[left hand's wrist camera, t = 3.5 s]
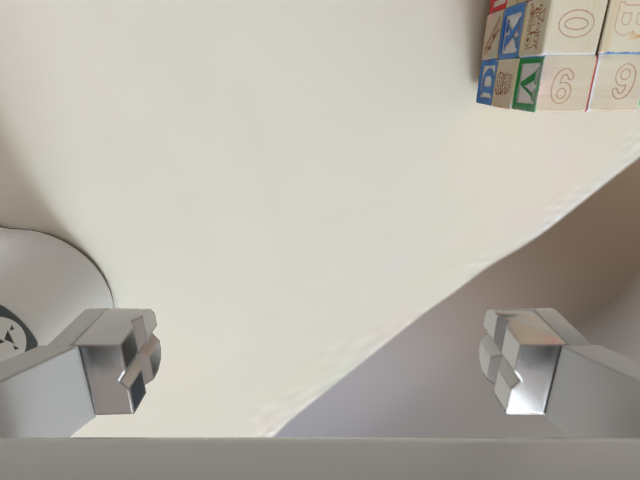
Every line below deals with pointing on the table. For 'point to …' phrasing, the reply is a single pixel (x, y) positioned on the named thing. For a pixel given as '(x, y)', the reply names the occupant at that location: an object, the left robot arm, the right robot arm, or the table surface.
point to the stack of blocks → (561, 55)
